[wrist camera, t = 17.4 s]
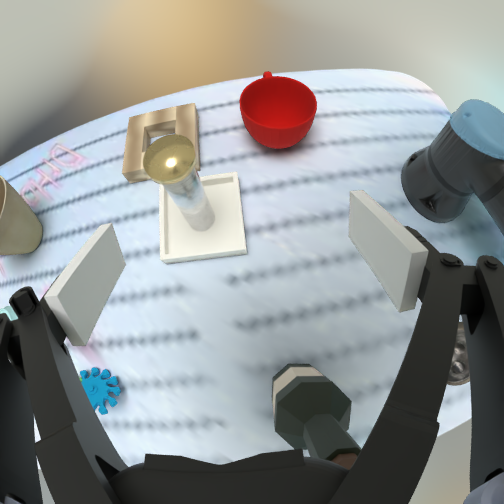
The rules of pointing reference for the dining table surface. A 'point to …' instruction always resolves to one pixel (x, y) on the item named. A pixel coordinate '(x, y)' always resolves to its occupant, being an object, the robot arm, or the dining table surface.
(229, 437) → the dining table surface
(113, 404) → the gear
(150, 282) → the dining table surface
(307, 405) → the wine bottle
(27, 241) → the plant pot
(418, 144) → the dining table surface
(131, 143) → the socket block
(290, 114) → the ceramic cup
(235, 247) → the tray
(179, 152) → the pin
